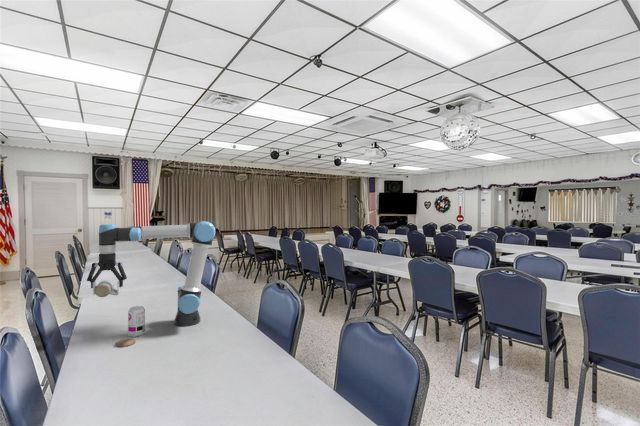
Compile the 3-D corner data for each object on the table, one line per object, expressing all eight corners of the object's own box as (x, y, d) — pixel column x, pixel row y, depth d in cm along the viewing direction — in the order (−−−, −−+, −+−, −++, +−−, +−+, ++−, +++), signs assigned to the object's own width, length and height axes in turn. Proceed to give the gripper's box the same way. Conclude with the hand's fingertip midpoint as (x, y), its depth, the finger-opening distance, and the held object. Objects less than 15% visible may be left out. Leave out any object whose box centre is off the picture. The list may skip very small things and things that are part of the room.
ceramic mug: (93, 298, 164) (94, 283, 164) (97, 294, 171) (97, 280, 171) (117, 296, 168) (118, 282, 168) (120, 293, 176) (120, 279, 176)
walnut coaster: (138, 339, 171) (138, 337, 171) (131, 346, 162) (131, 344, 162) (119, 341, 169) (119, 339, 169) (112, 348, 160) (112, 346, 160)
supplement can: (127, 338, 173) (127, 310, 173) (128, 333, 180) (129, 306, 180) (144, 335, 177) (144, 308, 177) (145, 330, 184) (145, 305, 184)
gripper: (133, 251, 176) (133, 290, 176) (86, 252, 171) (85, 292, 171) (128, 253, 169) (128, 294, 169) (78, 254, 164) (78, 296, 164)
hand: (107, 293), depth 170 cm, fingers closed on ceramic mug, 11 cm apart
